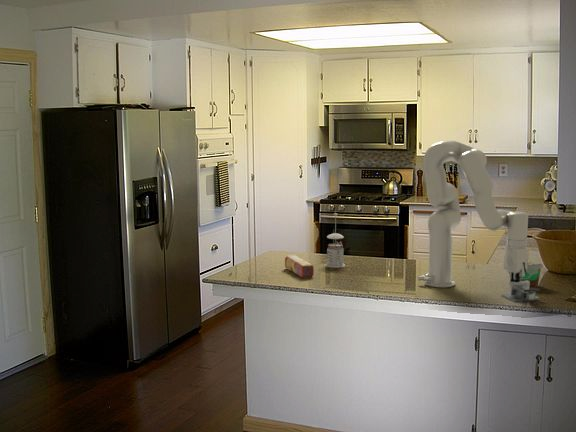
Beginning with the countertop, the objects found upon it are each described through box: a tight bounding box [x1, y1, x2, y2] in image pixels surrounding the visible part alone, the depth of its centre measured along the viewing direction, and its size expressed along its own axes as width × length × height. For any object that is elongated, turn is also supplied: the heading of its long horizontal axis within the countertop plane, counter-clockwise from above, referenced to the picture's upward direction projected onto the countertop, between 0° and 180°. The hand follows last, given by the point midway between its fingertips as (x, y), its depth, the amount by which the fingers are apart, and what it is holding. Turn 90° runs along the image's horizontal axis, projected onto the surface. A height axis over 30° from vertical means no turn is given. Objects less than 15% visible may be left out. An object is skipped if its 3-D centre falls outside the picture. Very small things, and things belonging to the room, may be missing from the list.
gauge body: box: [501, 291, 540, 303], centre depth 278 cm, size 11×9×3 cm
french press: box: [324, 212, 346, 268], centre depth 334 cm, size 10×12×25 cm
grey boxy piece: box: [508, 281, 540, 300], centre depth 275 cm, size 10×9×5 cm
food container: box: [520, 262, 544, 289], centre depth 296 cm, size 12×6×10 cm, turn 69°
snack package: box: [284, 254, 315, 279], centre depth 320 cm, size 21×7×7 cm, turn 21°
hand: (514, 288), depth 282 cm, fingers closed
